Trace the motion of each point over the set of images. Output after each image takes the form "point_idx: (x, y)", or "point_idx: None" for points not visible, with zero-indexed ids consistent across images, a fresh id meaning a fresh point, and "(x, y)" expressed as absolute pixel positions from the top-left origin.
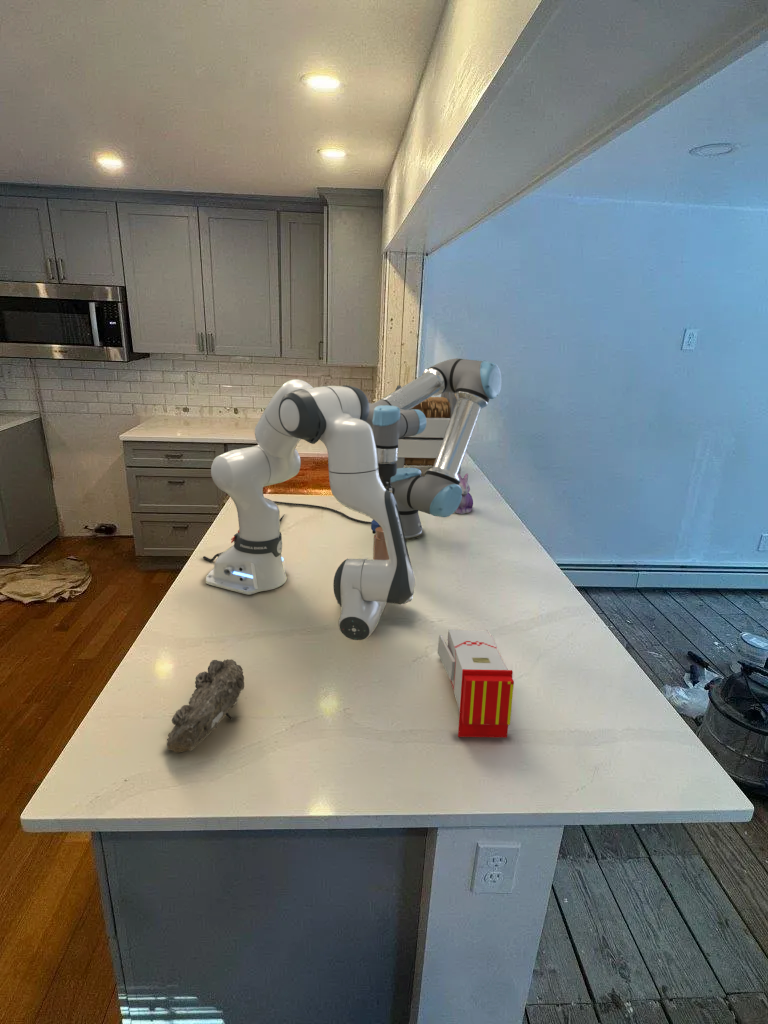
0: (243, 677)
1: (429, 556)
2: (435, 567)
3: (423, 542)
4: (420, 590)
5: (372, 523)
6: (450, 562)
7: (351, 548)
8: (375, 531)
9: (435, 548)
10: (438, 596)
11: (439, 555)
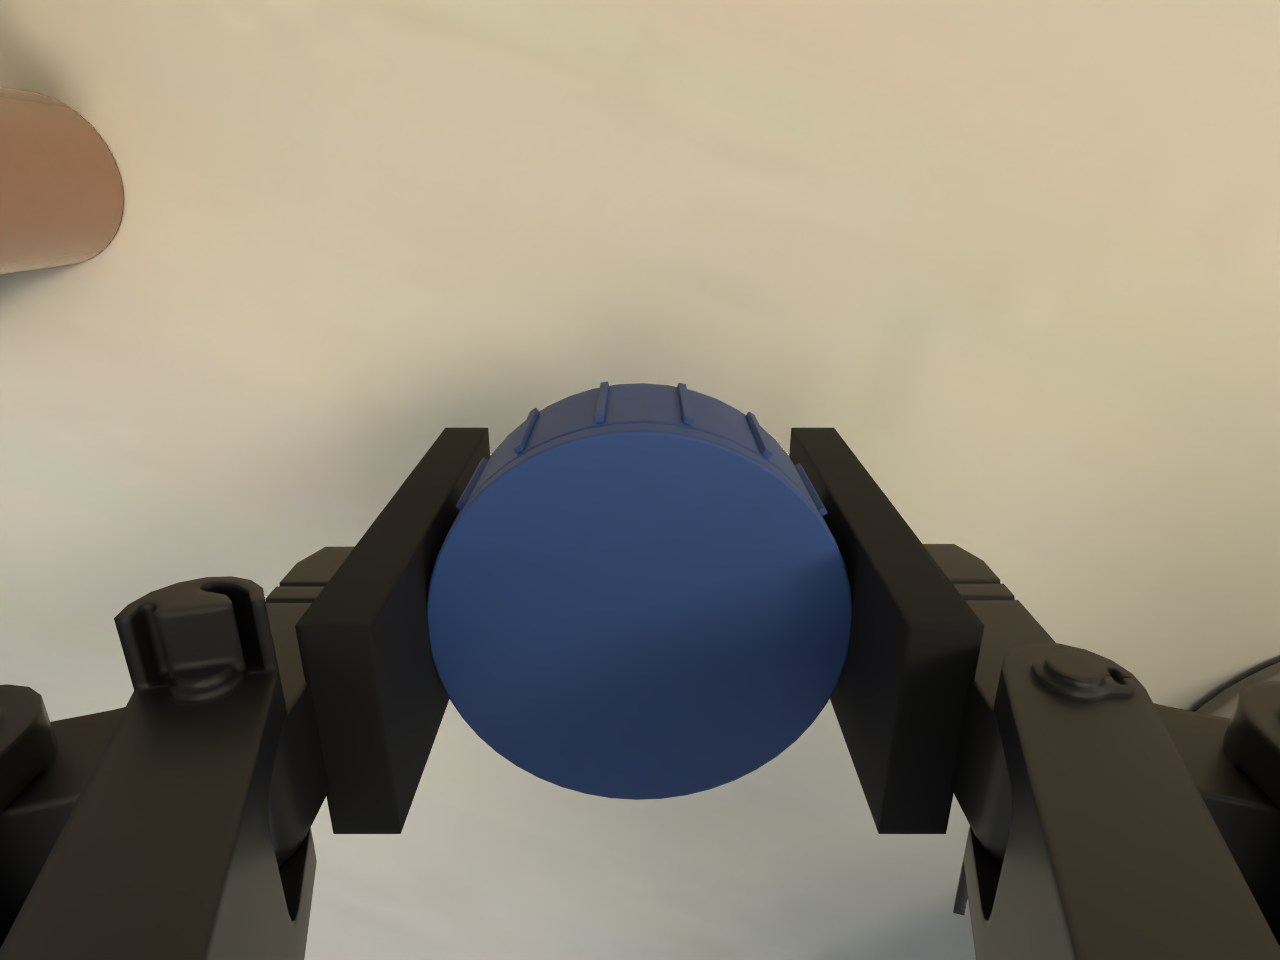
0: None
1: (752, 840)
2: (545, 809)
3: None
4: (154, 568)
5: (606, 429)
6: (605, 927)
7: (1210, 237)
8: (520, 425)
9: (880, 926)
10: (49, 656)
11: (747, 907)
